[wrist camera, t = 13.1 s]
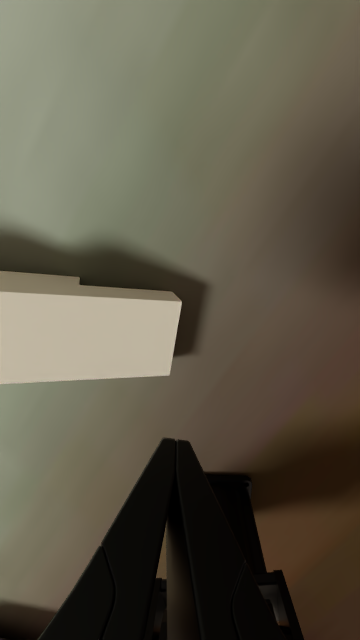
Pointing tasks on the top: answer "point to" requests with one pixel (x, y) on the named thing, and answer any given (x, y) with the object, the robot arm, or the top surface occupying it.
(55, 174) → the top surface
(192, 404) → the top surface
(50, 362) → the tile
